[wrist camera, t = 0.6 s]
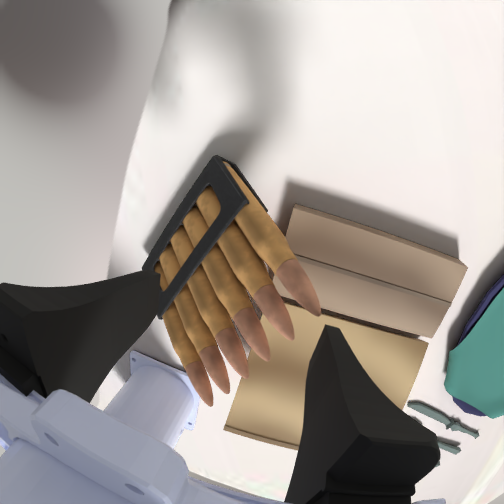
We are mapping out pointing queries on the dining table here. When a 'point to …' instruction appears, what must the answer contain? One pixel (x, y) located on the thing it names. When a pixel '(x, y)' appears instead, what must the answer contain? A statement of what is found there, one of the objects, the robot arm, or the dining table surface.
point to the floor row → (372, 272)
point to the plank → (295, 372)
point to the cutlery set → (476, 366)
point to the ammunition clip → (224, 277)
